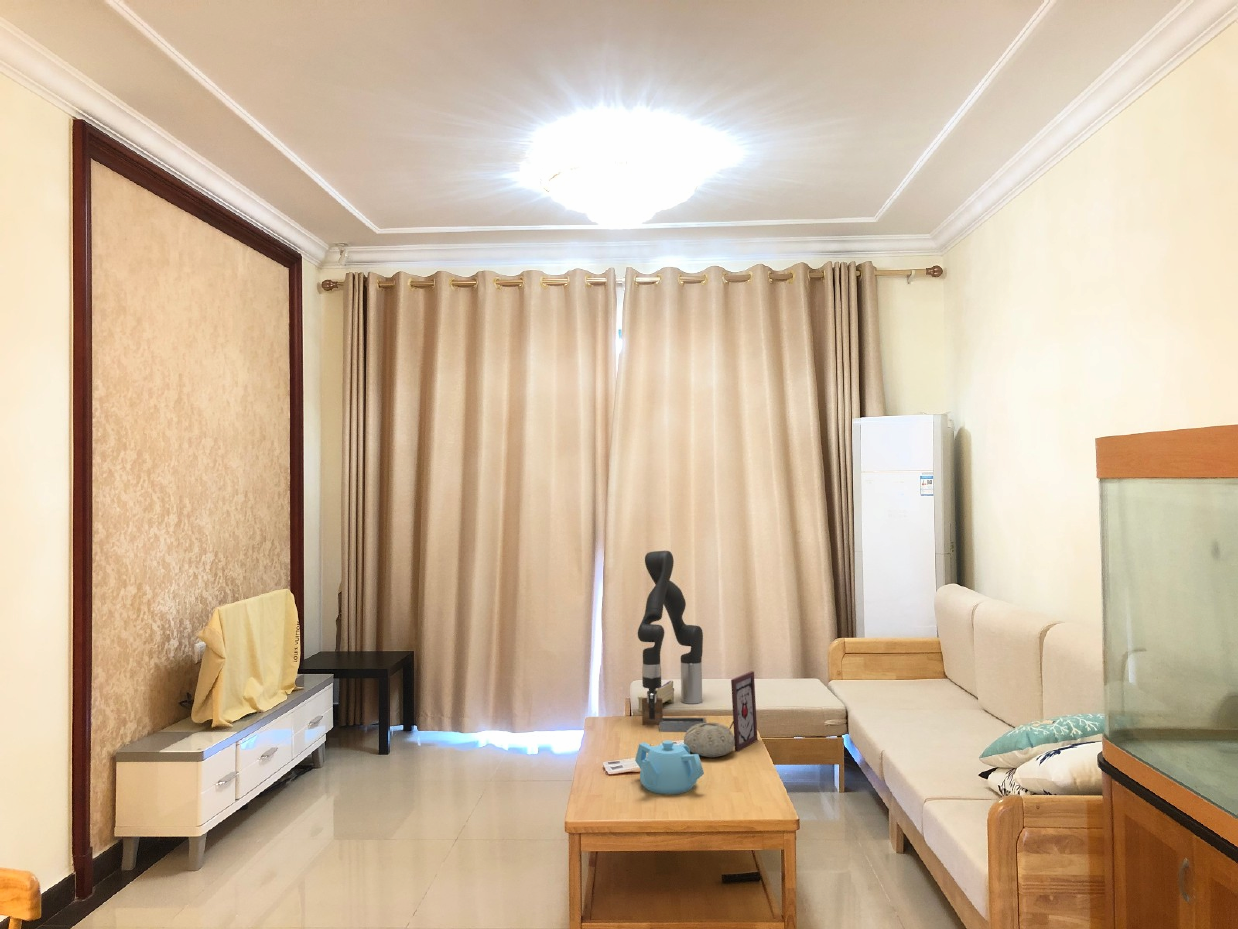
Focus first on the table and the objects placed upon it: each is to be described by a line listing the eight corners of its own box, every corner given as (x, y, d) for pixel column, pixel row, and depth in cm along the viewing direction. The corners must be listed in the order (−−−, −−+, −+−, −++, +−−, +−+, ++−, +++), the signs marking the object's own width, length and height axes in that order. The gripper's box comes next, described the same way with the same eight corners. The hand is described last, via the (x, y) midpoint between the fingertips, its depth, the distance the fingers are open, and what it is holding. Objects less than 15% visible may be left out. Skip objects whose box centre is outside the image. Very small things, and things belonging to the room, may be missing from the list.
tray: (659, 726, 331) (659, 717, 331) (706, 726, 329) (705, 717, 330) (659, 731, 324) (659, 722, 324) (706, 731, 322) (706, 722, 323)
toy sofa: (656, 701, 373) (656, 677, 373) (674, 702, 369) (674, 679, 370) (637, 712, 354) (637, 687, 354) (656, 714, 350) (656, 689, 351)
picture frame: (737, 751, 297) (736, 680, 298) (712, 747, 302) (711, 677, 303) (757, 740, 310) (756, 671, 311) (733, 736, 316) (732, 669, 317)
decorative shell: (705, 765, 283) (704, 735, 283) (673, 752, 298) (672, 723, 298) (745, 755, 293) (744, 726, 293) (712, 743, 307) (711, 715, 308)
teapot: (637, 777, 272) (636, 733, 272) (696, 775, 273) (695, 732, 273) (642, 798, 252) (641, 752, 253) (705, 796, 253) (705, 750, 254)
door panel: (642, 723, 336) (642, 697, 337) (662, 723, 336) (662, 697, 336) (642, 725, 333) (641, 699, 334) (662, 725, 333) (662, 699, 333)
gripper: (643, 671, 343) (643, 711, 342) (641, 678, 328) (642, 721, 328) (661, 671, 342) (662, 711, 341) (660, 678, 328) (661, 721, 327)
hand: (652, 716), depth 335 cm, fingers open, 8 cm apart
